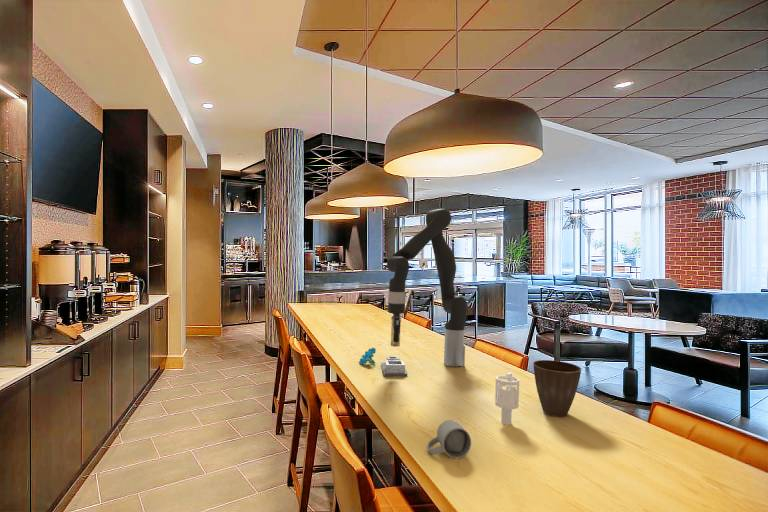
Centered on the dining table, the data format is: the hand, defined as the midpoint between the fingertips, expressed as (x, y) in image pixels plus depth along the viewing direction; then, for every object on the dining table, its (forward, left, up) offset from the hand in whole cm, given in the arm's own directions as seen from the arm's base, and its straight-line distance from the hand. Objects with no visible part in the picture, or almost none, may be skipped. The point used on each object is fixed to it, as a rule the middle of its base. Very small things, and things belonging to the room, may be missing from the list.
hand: (395, 340), depth 181 cm
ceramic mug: (-7, +73, -15) cm, 75 cm away
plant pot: (-50, +46, -14) cm, 69 cm away
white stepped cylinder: (-30, +54, -14) cm, 63 cm away
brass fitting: (0, 0, -2) cm, 2 cm away
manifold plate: (0, -4, -14) cm, 15 cm away
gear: (+11, -15, -15) cm, 24 cm away
